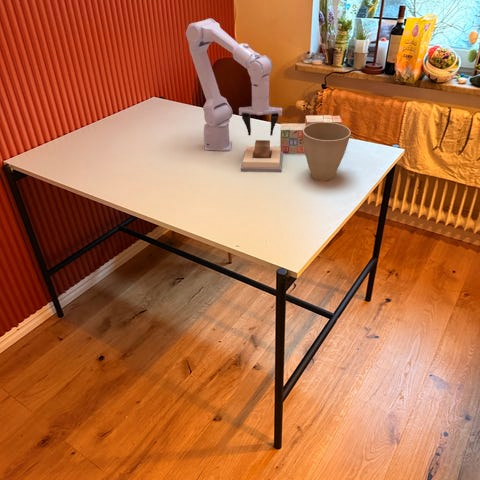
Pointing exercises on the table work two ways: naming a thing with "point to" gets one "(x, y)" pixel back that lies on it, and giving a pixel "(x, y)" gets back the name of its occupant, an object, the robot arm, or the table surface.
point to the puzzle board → (262, 161)
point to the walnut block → (262, 149)
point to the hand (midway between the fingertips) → (260, 134)
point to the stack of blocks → (300, 133)
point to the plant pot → (325, 148)
